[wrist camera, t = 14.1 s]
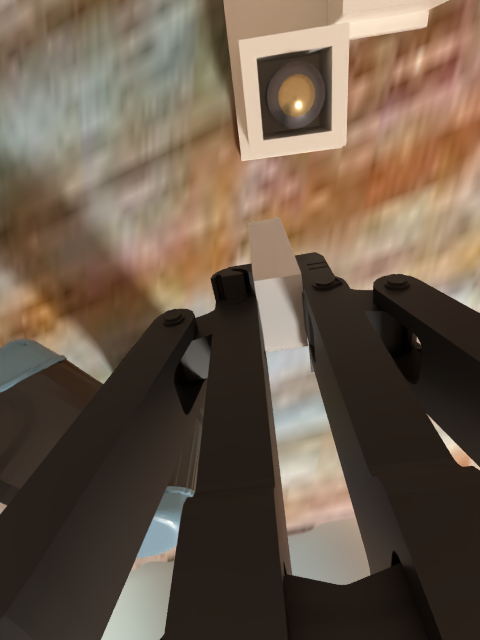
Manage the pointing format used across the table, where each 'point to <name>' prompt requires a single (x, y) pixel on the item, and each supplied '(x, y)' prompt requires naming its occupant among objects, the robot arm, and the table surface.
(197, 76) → the table surface
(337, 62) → the knob panel
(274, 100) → the knob
